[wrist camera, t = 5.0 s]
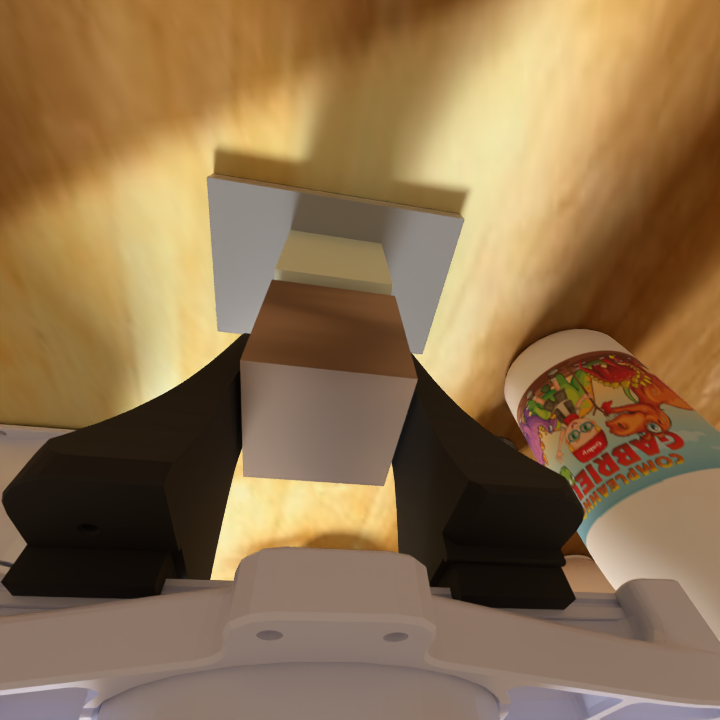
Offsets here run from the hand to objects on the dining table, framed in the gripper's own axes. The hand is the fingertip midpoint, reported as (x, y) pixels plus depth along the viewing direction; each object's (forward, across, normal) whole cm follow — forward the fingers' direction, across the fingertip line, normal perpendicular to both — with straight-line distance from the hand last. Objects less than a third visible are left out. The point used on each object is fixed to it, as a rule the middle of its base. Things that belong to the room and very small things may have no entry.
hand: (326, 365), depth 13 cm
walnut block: (+2, 0, 0) cm, 2 cm away
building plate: (+9, 0, 0) cm, 9 cm away
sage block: (+8, 0, 0) cm, 8 cm away
